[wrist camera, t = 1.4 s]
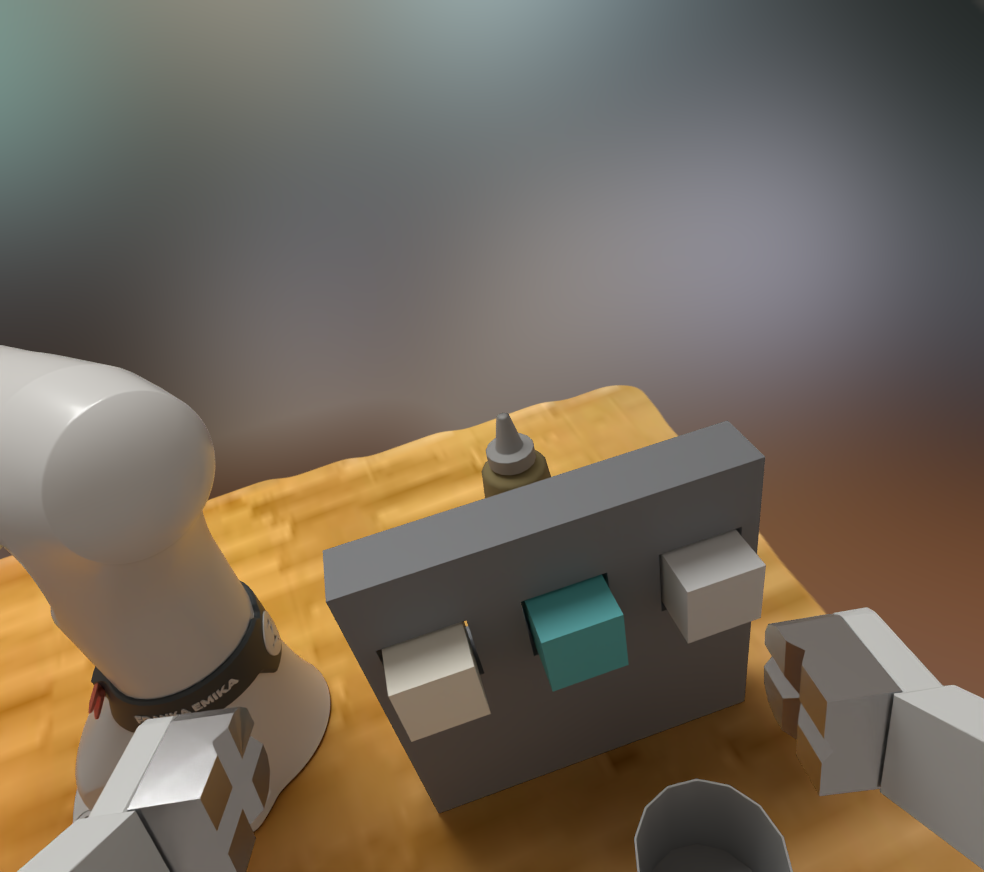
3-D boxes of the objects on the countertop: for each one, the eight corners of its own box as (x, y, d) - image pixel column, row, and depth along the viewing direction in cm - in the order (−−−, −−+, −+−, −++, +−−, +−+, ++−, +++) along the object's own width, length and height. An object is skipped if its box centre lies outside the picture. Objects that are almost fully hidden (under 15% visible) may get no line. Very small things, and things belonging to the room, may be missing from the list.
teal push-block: (552, 691, 40) (541, 643, 37) (524, 616, 45) (512, 568, 42) (628, 664, 40) (623, 614, 37) (592, 593, 45) (585, 543, 42)
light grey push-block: (688, 643, 41) (687, 592, 38) (645, 574, 45) (642, 524, 42) (760, 617, 41) (765, 565, 38) (711, 552, 46) (712, 501, 43)
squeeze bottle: (492, 581, 68) (454, 448, 57) (498, 525, 74) (465, 396, 63) (569, 577, 66) (545, 439, 56) (569, 520, 73) (547, 387, 62)
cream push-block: (411, 741, 39) (388, 696, 36) (398, 659, 44) (376, 613, 41) (490, 713, 39) (474, 666, 36) (468, 635, 44) (452, 588, 41)
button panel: (438, 813, 50) (325, 601, 35) (429, 764, 54) (322, 550, 38) (744, 700, 53) (765, 456, 37) (718, 660, 56) (727, 420, 41)
